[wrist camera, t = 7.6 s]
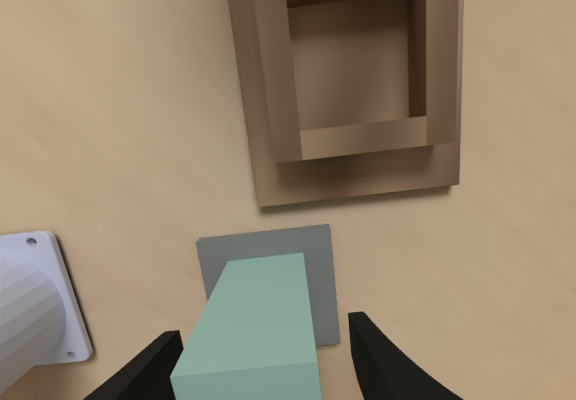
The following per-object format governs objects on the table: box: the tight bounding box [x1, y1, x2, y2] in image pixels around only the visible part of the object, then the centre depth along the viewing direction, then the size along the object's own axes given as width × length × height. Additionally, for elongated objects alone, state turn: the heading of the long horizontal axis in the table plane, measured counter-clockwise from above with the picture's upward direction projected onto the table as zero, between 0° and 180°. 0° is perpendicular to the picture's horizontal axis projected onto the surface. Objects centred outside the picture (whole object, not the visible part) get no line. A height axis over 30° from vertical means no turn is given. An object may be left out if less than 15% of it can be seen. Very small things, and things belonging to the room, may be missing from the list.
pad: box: [196, 224, 340, 346], centre depth 15 cm, size 7×7×1 cm
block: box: [170, 253, 322, 400], centre depth 11 cm, size 4×4×7 cm
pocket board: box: [228, 0, 464, 207], centre depth 11 cm, size 10×12×2 cm
